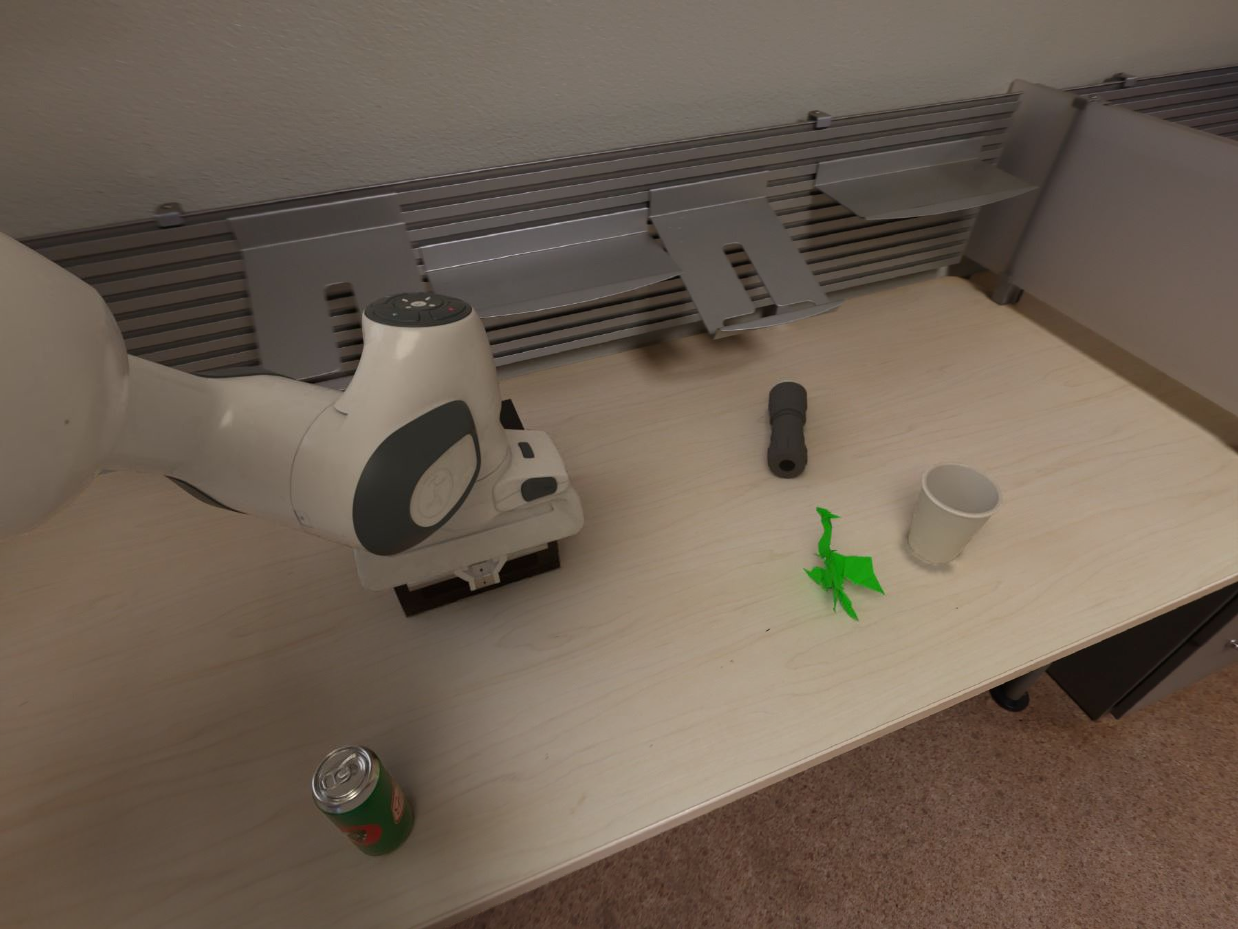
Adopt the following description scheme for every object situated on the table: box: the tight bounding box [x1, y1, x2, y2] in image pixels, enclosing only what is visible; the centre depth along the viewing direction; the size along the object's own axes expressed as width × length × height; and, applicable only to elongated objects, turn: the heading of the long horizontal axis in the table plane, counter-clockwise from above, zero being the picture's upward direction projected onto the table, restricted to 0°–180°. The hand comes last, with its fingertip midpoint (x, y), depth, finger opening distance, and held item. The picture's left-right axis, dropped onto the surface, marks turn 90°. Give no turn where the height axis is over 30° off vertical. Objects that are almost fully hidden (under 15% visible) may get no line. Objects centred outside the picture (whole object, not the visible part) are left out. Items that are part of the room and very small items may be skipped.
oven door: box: [392, 540, 562, 618], centre depth 68 cm, size 7×18×14 cm, turn 112°
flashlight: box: [766, 379, 809, 479], centre depth 90 cm, size 15×5×5 cm, turn 169°
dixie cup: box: [907, 461, 1004, 564], centre depth 74 cm, size 8×8×10 cm
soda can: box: [311, 744, 414, 857], centre depth 52 cm, size 5×5×12 cm
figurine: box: [802, 506, 886, 622], centre depth 71 cm, size 6×12×9 cm, turn 21°
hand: (484, 581), depth 63 cm, fingers closed, pressing on oven door
